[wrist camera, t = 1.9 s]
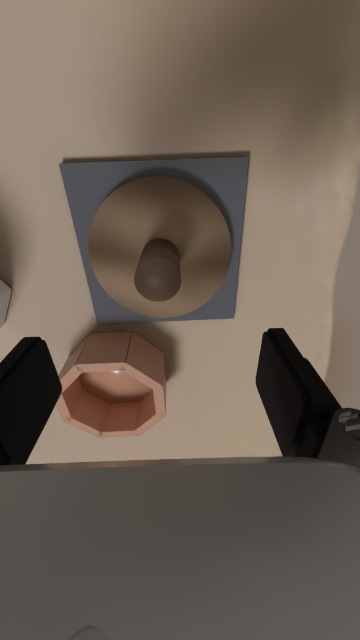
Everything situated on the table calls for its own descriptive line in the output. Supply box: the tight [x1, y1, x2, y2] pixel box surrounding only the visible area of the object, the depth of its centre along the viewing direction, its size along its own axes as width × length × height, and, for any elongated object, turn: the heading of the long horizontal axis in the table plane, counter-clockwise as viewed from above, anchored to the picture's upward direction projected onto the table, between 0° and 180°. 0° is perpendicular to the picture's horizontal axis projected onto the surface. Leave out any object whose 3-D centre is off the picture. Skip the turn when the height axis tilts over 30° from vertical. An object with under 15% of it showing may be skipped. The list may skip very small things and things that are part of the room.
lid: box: [88, 176, 231, 318], centre depth 20 cm, size 12×12×6 cm
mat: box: [59, 157, 249, 324], centre depth 23 cm, size 14×14×1 cm
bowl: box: [56, 331, 166, 438], centre depth 28 cm, size 11×11×5 cm
